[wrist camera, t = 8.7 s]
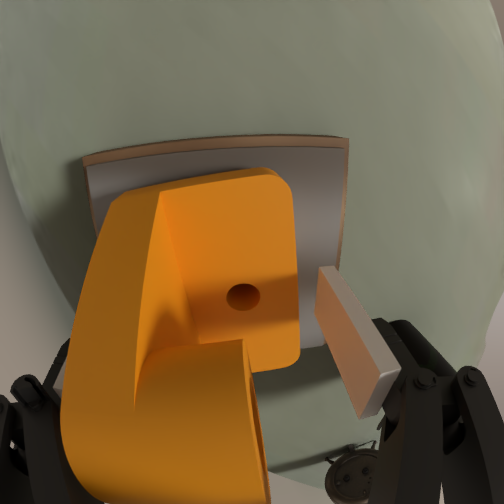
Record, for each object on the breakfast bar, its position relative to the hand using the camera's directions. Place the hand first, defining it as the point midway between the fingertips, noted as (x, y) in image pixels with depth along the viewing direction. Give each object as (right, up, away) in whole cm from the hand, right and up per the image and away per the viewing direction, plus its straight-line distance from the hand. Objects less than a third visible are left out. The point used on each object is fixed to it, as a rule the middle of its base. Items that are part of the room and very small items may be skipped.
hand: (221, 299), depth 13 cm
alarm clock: (+17, -30, +23) cm, 41 cm away
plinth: (-1, +2, +5) cm, 6 cm away
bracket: (0, +1, +2) cm, 3 cm away
